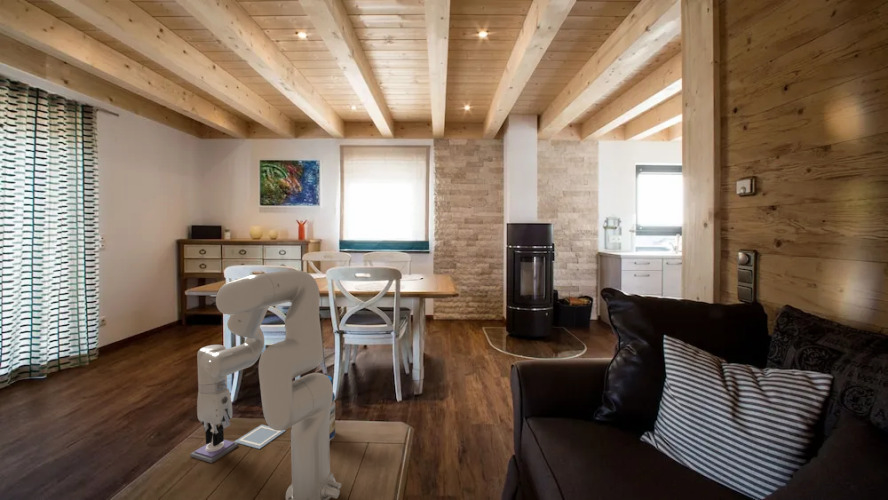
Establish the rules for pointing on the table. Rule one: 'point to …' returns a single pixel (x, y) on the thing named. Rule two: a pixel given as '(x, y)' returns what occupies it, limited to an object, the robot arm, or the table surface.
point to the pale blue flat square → (259, 437)
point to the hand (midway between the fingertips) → (214, 442)
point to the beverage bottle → (332, 415)
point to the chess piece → (210, 446)
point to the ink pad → (214, 455)
